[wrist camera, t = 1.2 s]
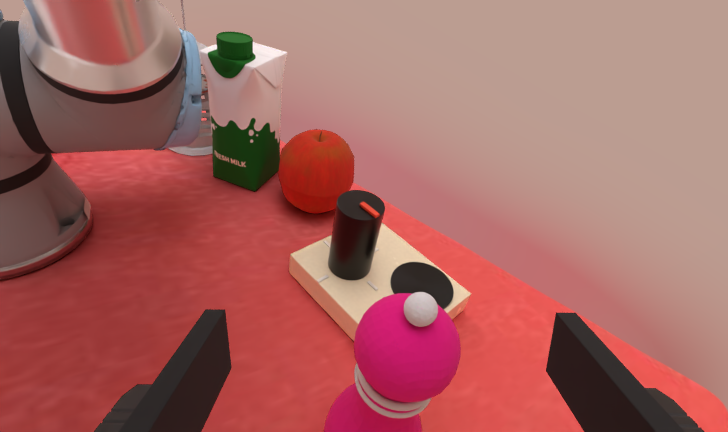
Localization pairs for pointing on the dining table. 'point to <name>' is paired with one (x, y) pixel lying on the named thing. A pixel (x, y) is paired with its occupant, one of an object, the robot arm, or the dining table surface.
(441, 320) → the pepper mill
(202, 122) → the french press
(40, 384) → the dining table surface
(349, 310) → the hob
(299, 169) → the apple
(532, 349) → the dining table surface
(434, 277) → the burner
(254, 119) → the milk carton
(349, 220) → the hob knob
